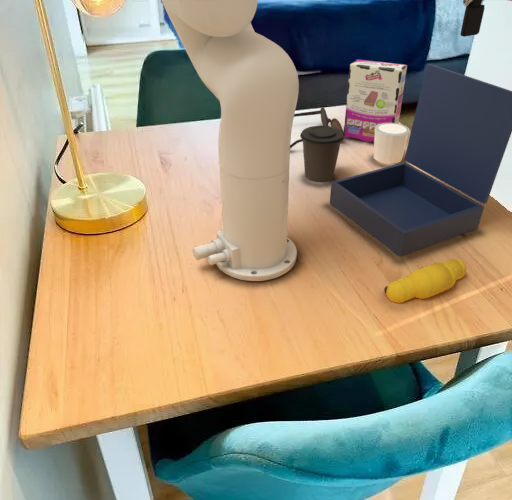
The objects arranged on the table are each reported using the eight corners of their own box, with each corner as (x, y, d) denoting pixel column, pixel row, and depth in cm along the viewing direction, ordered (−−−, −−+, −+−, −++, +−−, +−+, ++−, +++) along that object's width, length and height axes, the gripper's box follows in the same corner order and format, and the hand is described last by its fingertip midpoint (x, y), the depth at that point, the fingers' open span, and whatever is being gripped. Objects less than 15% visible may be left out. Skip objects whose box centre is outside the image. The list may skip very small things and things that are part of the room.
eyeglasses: (344, 146, 111) (347, 124, 108) (280, 154, 108) (280, 131, 105) (320, 122, 123) (322, 102, 120) (261, 129, 120) (261, 108, 117)
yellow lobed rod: (400, 315, 66) (405, 292, 64) (379, 297, 69) (384, 274, 67) (474, 284, 72) (481, 262, 69) (452, 269, 75) (458, 246, 72)
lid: (521, 95, 70) (543, 93, 72) (427, 63, 84) (447, 62, 86) (483, 204, 79) (503, 199, 81) (403, 160, 93) (422, 156, 95)
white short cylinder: (405, 168, 102) (411, 135, 98) (371, 166, 103) (375, 133, 99) (403, 154, 107) (408, 122, 103) (370, 152, 108) (374, 121, 104)
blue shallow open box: (398, 260, 76) (404, 233, 74) (329, 206, 90) (331, 181, 87) (476, 232, 83) (484, 206, 80) (400, 185, 96) (404, 161, 93)
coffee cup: (293, 184, 96) (295, 135, 91) (303, 167, 103) (306, 119, 97) (335, 191, 94) (340, 140, 88) (343, 172, 101) (348, 124, 95)
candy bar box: (396, 139, 114) (409, 64, 105) (390, 147, 110) (402, 70, 101) (349, 130, 118) (357, 57, 109) (342, 138, 115) (349, 63, 105)
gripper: (456, -105, 67) (432, 33, 77) (576, -105, 54) (529, 60, 64) (496, -106, 70) (468, 27, 80) (619, -106, 57) (568, 52, 67)
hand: (495, 42), depth 72 cm, fingers open, 9 cm apart
